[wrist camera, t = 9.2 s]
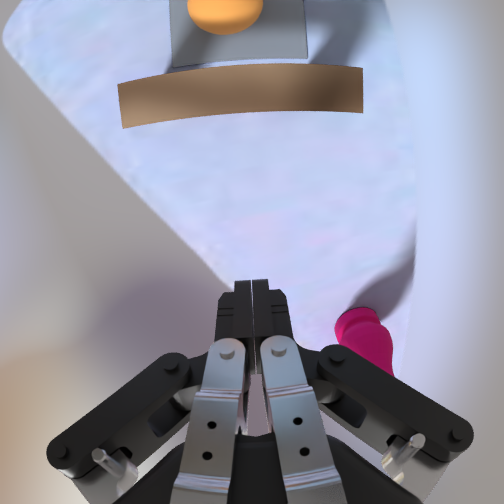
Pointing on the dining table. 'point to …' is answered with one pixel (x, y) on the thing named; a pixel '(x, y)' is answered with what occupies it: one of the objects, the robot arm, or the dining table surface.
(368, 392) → the robot arm
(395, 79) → the dining table surface
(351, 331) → the pepper mill
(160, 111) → the bridge
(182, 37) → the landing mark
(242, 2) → the ball
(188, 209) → the dining table surface
